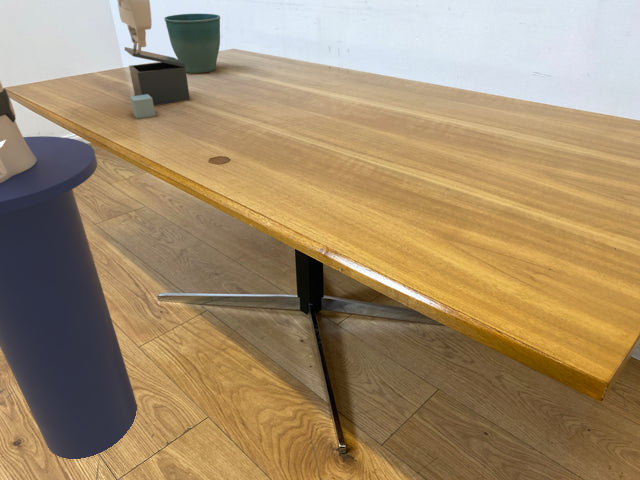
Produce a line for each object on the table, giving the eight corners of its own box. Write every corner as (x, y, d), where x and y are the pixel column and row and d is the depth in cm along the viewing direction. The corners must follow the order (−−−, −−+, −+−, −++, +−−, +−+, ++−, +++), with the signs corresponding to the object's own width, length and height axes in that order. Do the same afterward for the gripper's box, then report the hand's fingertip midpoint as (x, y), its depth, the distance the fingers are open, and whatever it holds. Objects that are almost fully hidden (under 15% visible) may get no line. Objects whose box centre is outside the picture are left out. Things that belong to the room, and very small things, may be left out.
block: (137, 118, 121) (133, 100, 118) (133, 114, 124) (129, 96, 122) (155, 115, 122) (152, 98, 120) (151, 111, 126) (147, 94, 123)
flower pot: (227, 74, 162) (221, 19, 154) (171, 77, 159) (162, 21, 150) (224, 63, 177) (218, 12, 169) (173, 66, 174) (165, 14, 165)
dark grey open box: (144, 106, 130) (137, 72, 125) (135, 97, 137) (128, 65, 133) (190, 100, 135) (185, 67, 130) (179, 91, 143) (174, 60, 138)
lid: (133, 56, 123) (135, 35, 121) (124, 50, 131) (126, 30, 129) (184, 67, 130) (187, 47, 128) (173, 60, 138) (176, 41, 136)
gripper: (107, -17, 126) (118, 40, 133) (123, -13, 111) (135, 51, 118) (132, -17, 129) (142, 38, 136) (151, -13, 114) (161, 49, 121)
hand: (139, 44), depth 127 cm, fingers closed on lid, 6 cm apart
